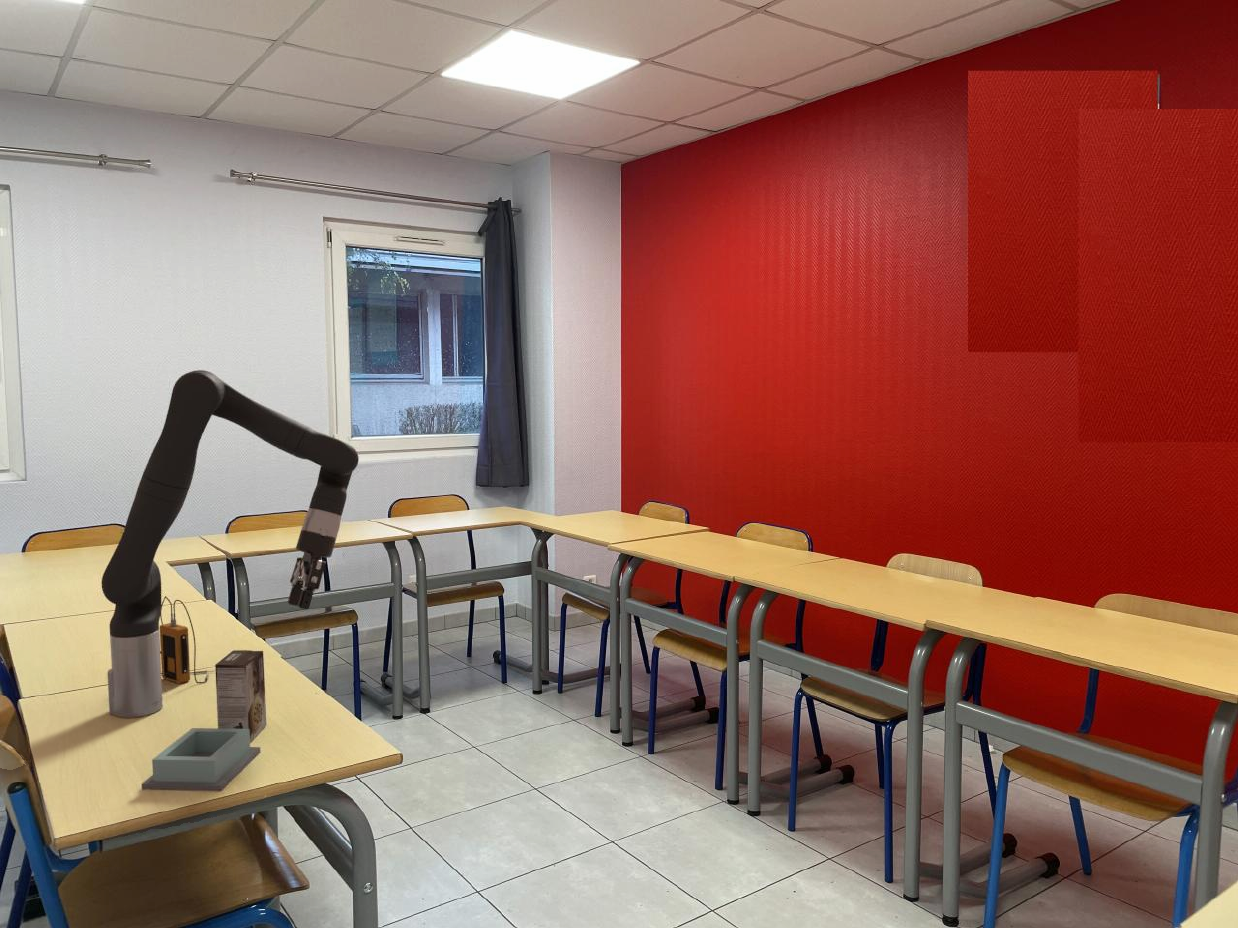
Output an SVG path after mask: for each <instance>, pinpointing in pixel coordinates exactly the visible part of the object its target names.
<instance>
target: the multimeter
mask: <svg viewBox="0 0 1238 928" xmlns="http://www.w3.org/2000/svg"><path fill="white" fill-rule="evenodd" d="M165 600H167V601H168V603H169V604H170V622H168V623H164V622H163V619H162V614H161V615H160V621H161V625H160V624H159V638H160V658H161V679H163V680H168V681H170V682H173V683H176V684H177V685H178V684H179V685H180V684H184V683H186V682H189V681H190V680H191V674H194V675H193V676H194V680H195V683H196V684H204V683H206V682H208V680H209V677H210V674H209V673H210V672H213V670H208V669H207V670H197V671H196V658H197V657H196V656H197V655H196V654H197V653H196V651H197V650H196V648H197V646H196V637H195V631H194V627H193V623H192V620H191V616H190V614H189V611H188V609H187V607H186V605H185V604H184V603H183V601H181V600H179V599H175V600H174V601H173V604H172V602H171V600H170V599H169V598H168V597H167V596H164V597H163V601H161V611H162V610H163V606H164V603H165ZM176 602H180V603H181V604H182V605H183V607H184V610H185V612H186V614H187V617H188V620H189V623H190V627H191V630H192V636H193V644H194V647H193V648H194V650H193V651H194V653H193V654H194V657H193V659H194V660H193V661H194V662H193V672H191V671H190V669H191V668H190V667H191V666H190V665H191V664H190V647H189V646H190V643H189V640H190V639H189V628H188V627H187V626H184V625H180V624H177V619H176V608H175V606H176ZM163 623H164V624H163ZM206 673H207V674H206ZM196 674H206V677H205V680H204V681H200V682H199V681H198V680H197V677H196Z"/></svg>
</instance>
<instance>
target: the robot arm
mask: <svg viewBox="0 0 1238 928" xmlns="http://www.w3.org/2000/svg"><path fill="white" fill-rule="evenodd" d="M212 416H214V417H218V418H221V419H224V420H227V421H229V422H231V423H233V424H236V425H237V426H239V427H241V428H243V429H245V430H246V431H248V432H249V433H251V434H253V435H254V436H256V437H258V438H260V439H261V440H262V441H264V442H266V443H267V444H268V445H271V446H272V447H274V448H277V449H279V450H281V451H283V452H285V453H287V454H290V455H292V456H294V457H296V458H298V459H301V460H308V461H310V462H312V463H314V464H316V465H318V466H320V468H319V472H318V473H319V474H318V477H317V483H316V486H315V488H314V490H313V494H312V497H311V499H310V504H309V507H308V509H307V511H306V514H305V516H304V519H303V523H302V526H301V530H300V533H299V536H298V539H297V543H296V546H295V549H296V551H298V552H302V553H303V555H302V556H297V557H296V561H295V565H294V568H293V571H292V574H291V578H290V581H289V583H290V584H291V589H290V592H289V593H290V594H289V597H288V600H287V604H288V605H292V606H295V607H298V608H299V609H305V610H309V608H310V607H311V606H310V605H311V604H312V603H311V602H312V599H313V596H314V593H315V592H316V590H319V589H320V586H321V582H322V577H323V574H324V570H325V567H326V561H323V560H322V557H323V558H331V557H332V555H333V551H334V548H335V544H336V541H337V538H338V533H339V530H340V527H341V520H342V515H343V512H344V509H345V505H346V502H347V494H348V493H347V490H348V487H349V485H350V480H351V479H352V478H351V477H352V474H353V472H354V471H355V470H356V468H357V467H358V464H359V459H360V457H359V454H358V451H357V450H356V449H355V448H354V446H352V445H351V444H349V443H347V442H346V441H343V440H341V439H339V438H336V437H333V436H330V435H327V434H325V433H322V432H319V431H317V430H315V429H313V428H312V427H310V426H308V425H306V424H304V423H303V422H299V421H298V420H295V419H293V418H291V417H289V416H287V415H285V414H283V413H280V412H278V411H276V410H274V409H272V408H269V407H267V406H265V405H263V404H261V403H259V402H257V401H255V400H254V399H252V398H250V397H248V396H246V394H243V393H241V392H240V391H239V390H236V389H235V388H234V387H233V386H231V385H229V384H228V383H226V382H225V381H224V380H222V379H221V378H219V377H218V376H217V375H216V374H215V373H213V372H211V371H208V370H203V369H202V370H201V369H197V370H193V371H189V372H186V373H184V374H183V375H181V376H180V377H179V378H178V379H177V380H176V381H175V383H174V385H173V388H172V391H171V397H170V400H169V404H168V409H167V413H166V417H165V421H164V424H163V428H162V430H161V433H160V435H159V438H158V439H157V442H156V443H155V445H154V448H153V450H152V452H151V454H150V457H149V459H148V462H147V464H146V465H145V468H144V470H143V473H142V476H141V479H140V481H139V484H138V486H137V490H136V492H135V496H134V499H133V502H132V505H131V507H130V510H129V513H128V516H127V518H126V519H127V520H126V523H125V525H124V529H123V532H122V535H121V537H120V540H119V541H118V544H117V546H116V548H115V550H114V552H113V555H112V556H111V558H110V560H109V562H108V563H107V566H106V567H105V570H104V572H103V574H102V577H101V590H102V593H103V595H104V597H105V598H106V600H108V601H109V602H110V603H112V604H114V605H115V608H114V612H113V615H112V616H111V619H110V621H109V639H110V640H109V641H110V642H109V643H110V658H111V659H110V660H111V668H110V669H108V670H107V687H108V688H107V690H108V691H107V692H108V707H109V708H108V709H109V715H114V716H116V717H119V718H129V719H130V718H138V717H144V716H147V715H151V714H154V713H156V712H158V711H160V710H161V709H162V708H163V697H164V696H163V685H162V684H163V683H162V679H163V678H162V674H161V673H162V665H161V654H160V651H161V646H160V623H159V622H160V620H161V617H160V615H161V616H162V610H161V605H162V577H161V575H162V574H161V572H160V568H159V566H158V564H157V563H156V561H155V560H154V559H155V556H156V554H157V550H158V548H159V546H160V545H161V543H162V541H163V539H164V537H165V536H166V534H167V532H169V530H170V529H171V527H172V525H173V524H174V522H175V521H176V519H177V517H178V515H179V514H180V512H181V510H182V509H183V506H184V504H185V501H186V498H187V496H188V492H189V490H190V487H191V485H192V481H193V477H194V475H195V474H194V473H195V468H196V464H197V463H196V462H197V455H198V450H199V445H200V441H201V439H202V436H203V435H204V432H205V431H206V427H207V425H208V424H209V422H210V420H211V418H212Z"/></svg>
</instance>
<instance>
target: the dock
mask: <svg viewBox="0 0 1238 928" xmlns="http://www.w3.org/2000/svg"><path fill="white" fill-rule="evenodd" d="M260 753H261V747H258V746H251V743H250V731H249V729H222V728H218V727H217V728H215V727H213V728H212V727H210V728H209V727H208V728H207V727H203V728H202V727H192V728H191V729H189V730H188V731H187V732H185V733H184V734H183V735H182V736H180V737H179V738H178V739H176V740H175V741H173V743H172V744H170V745H169V746H167V747H166V748H165V749H163V750H162V751H161V752H160V753H158V754H157V755H156V756H155V757H154V758H152V759H151V762H152V775H150V777H148V778H147V779H146V780H144V781H143V782H141V790H145V789H150V790H151V791H153V790H154V791H157V790H158V791H198V792H199V791H200V792H201V791H206V792H207V791H209V792H211V791H212V792H221V791H223V790H224V789H225V788H226V787H227V786H228V785H230V783H231V782H232V781H233V780H234V779H235V778H236V777H237V776H238V775H239V774H240V773H241V772H242V771H243V770H244V769H245V768H246V767H248V765H249V764H250V763H251V762H252V761H253V760H254V759H255V758H257V756H258V755H259V754H260Z"/></svg>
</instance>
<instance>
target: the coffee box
mask: <svg viewBox="0 0 1238 928" xmlns="http://www.w3.org/2000/svg"><path fill="white" fill-rule="evenodd" d="M264 659H265V658H264V651H263V650H250V649H249V650H247V649H245V650H243V649H239V650H238V649H234V650H232V651H230V652H229V653H228V654H227V655H226V656H225V657H223V658H221V660H219V661H218V662H217V663H215V665H214V667H215V670H214V671H215V691H216V711H217V716H216V717H217V728H222V729H249V731H250V744H251V743H252V742H253V741H254V740H255V739H256V737H258V736H259V734H261V732H262V731H263V730H264V729H265V728H266V727H267V709H266V707H267V706H266V685H265V684H266V683H265V681H266V680H265V661H264Z"/></svg>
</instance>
